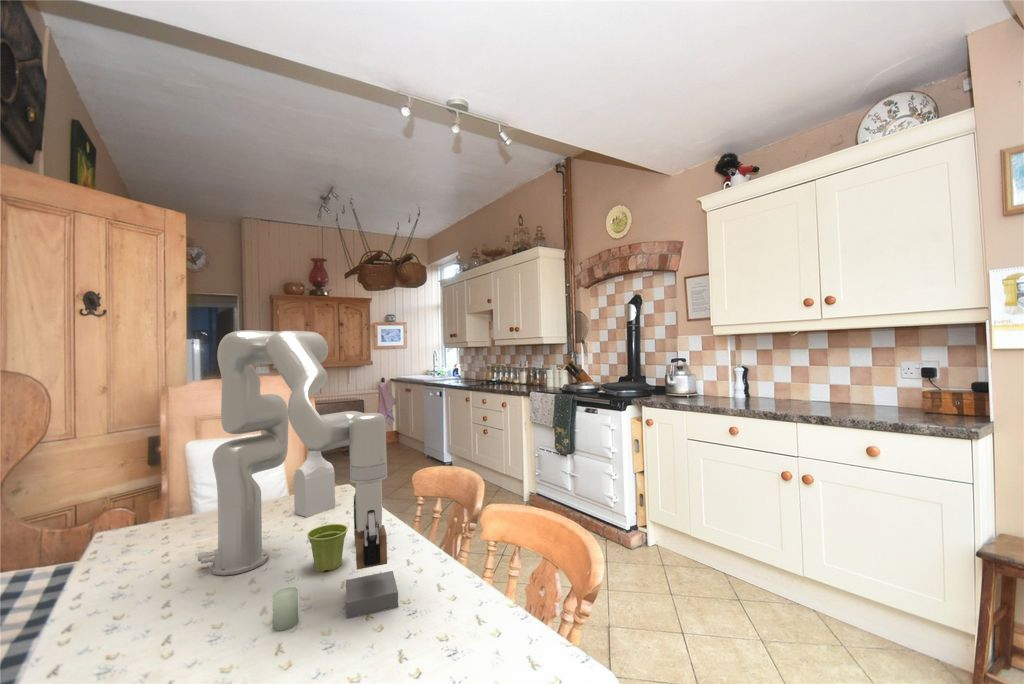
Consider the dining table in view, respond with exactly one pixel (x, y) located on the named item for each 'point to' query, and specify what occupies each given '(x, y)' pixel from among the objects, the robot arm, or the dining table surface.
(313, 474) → the soap bottle
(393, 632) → the dining table surface
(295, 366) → the robot arm
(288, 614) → the tin
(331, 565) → the plant pot
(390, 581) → the plinth
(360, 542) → the cube
